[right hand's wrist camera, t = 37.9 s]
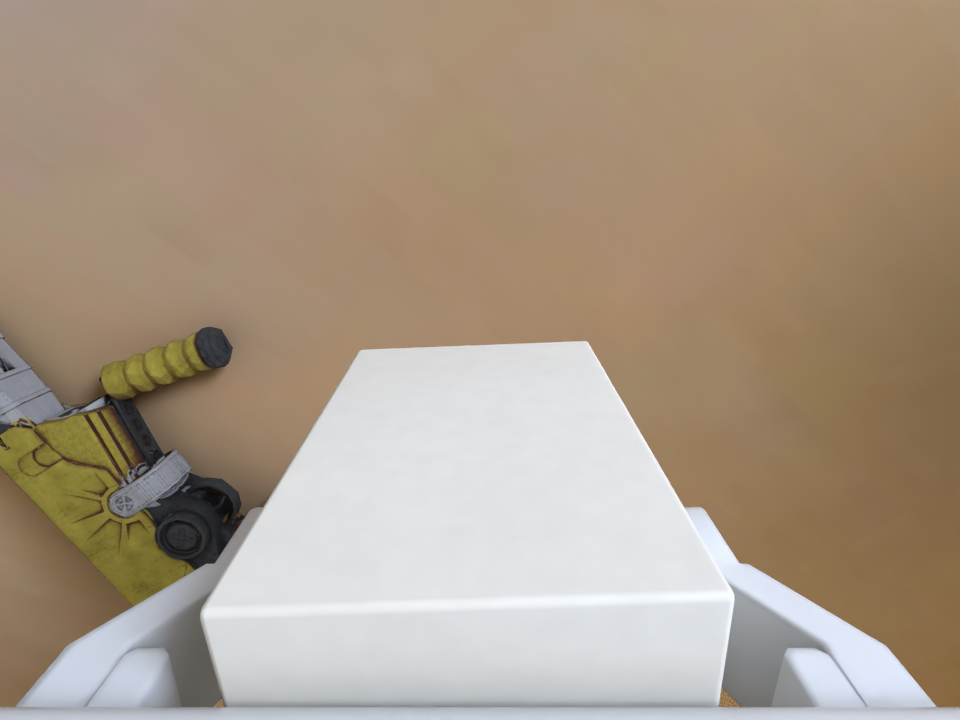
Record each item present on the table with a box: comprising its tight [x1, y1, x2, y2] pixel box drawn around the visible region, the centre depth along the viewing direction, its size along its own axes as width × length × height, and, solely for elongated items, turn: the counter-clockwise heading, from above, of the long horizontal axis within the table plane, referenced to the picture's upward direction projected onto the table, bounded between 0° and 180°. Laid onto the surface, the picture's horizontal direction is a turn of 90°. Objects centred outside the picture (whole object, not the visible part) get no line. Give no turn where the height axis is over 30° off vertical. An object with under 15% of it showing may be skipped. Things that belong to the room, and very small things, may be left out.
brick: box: [200, 341, 734, 707], centre depth 10 cm, size 5×5×8 cm
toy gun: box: [0, 327, 246, 606], centre depth 34 cm, size 5×24×15 cm
